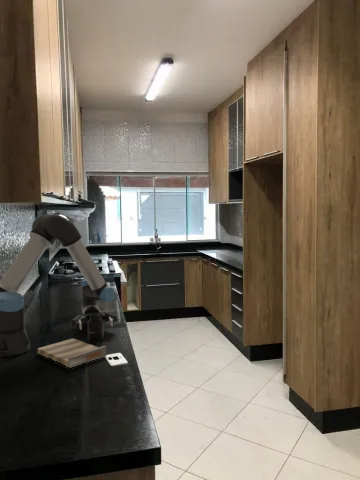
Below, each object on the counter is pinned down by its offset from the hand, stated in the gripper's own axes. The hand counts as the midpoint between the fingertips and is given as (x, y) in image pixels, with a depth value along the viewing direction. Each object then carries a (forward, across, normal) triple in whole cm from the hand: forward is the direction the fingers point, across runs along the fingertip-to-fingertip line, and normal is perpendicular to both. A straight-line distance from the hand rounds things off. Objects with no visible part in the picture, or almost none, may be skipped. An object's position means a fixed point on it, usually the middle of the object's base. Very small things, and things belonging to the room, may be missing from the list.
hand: (96, 324), depth 170 cm
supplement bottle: (+2, +1, -7) cm, 7 cm away
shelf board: (+16, +12, -6) cm, 21 cm away
